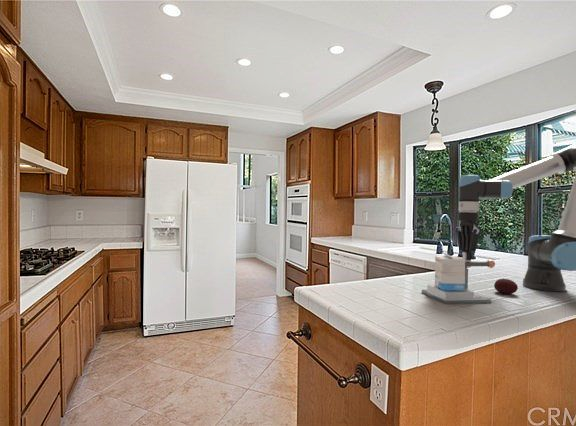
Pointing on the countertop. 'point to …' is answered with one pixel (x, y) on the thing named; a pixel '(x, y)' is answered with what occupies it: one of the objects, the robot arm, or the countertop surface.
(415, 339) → the countertop surface
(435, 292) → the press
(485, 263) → the lever
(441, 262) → the ink box
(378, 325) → the countertop surface
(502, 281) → the potato
